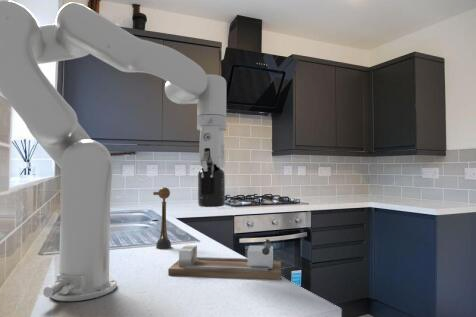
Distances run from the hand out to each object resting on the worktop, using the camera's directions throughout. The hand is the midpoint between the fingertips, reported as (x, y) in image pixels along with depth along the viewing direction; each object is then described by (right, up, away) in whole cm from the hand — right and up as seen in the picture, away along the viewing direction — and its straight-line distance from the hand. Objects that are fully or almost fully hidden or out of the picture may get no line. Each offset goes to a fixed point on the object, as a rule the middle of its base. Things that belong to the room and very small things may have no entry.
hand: (211, 193), depth 82 cm
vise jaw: (+12, -18, -2) cm, 22 cm away
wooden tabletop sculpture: (-18, -21, +25) cm, 37 cm away
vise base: (+4, -20, -1) cm, 20 cm away
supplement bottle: (0, -4, 0) cm, 4 cm away
